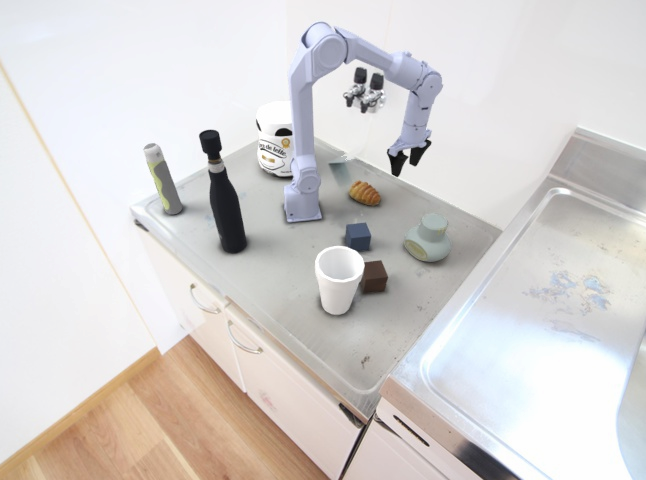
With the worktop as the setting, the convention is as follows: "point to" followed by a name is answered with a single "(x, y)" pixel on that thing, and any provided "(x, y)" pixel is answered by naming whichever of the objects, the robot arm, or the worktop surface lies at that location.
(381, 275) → the walnut block
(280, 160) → the milk container
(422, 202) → the worktop surface
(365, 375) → the worktop surface
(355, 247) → the slate block
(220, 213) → the wine bottle
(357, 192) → the pastry
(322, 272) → the foam cup
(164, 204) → the spray bottle
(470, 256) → the worktop surface
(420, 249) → the air freshener
